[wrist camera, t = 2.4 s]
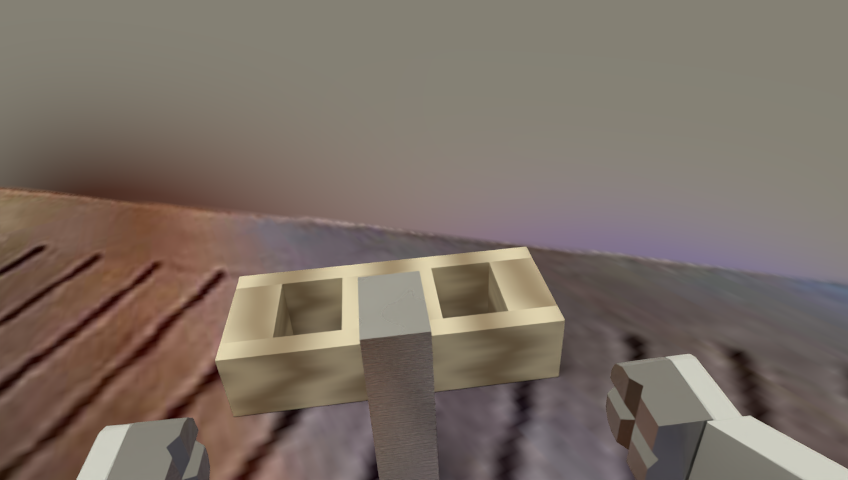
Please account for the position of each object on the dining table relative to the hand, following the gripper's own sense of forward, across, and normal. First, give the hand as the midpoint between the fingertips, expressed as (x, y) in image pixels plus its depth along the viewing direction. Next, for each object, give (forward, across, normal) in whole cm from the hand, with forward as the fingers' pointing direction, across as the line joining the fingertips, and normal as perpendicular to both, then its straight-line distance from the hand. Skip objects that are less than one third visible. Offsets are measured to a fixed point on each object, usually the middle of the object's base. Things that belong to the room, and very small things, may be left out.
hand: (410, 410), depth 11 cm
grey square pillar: (+12, 0, +20) cm, 23 cm away
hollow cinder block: (+23, 0, +20) cm, 30 cm away
